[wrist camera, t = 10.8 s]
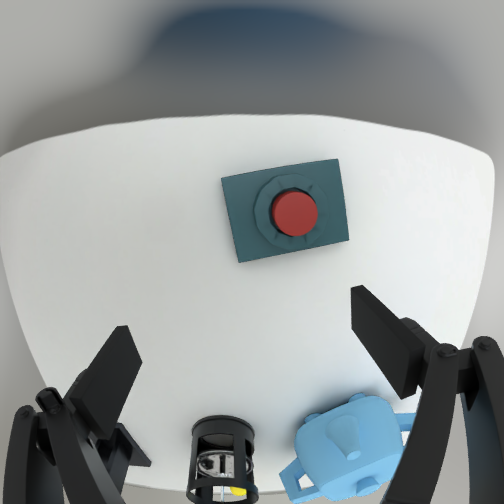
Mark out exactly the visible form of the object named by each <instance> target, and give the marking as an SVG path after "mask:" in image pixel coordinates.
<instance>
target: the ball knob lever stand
mask: <svg viewBox="0 0 504 504" xmlns="http://www.w3.org/2000/svg"><path fill="white" fill-rule="evenodd" d="M89 437H90V438H91V440H92V441H93V443H94V445H95V448H96V450H97V452H98V454H99V456H100V458H101V460H102V462H103V464H104V466H105V468H106V470H107V472H108V474H109V476H110V478H111V479H112V481H113V483H114V485H115V487H116V488H117V490H118V492H119V493H120V495H121V492H122V488H123V484H124V481H125V477H126V474H127V470H128V466H129V465H132V466H144V467H150V466H151V461H150V460H149V459H148V458H147V456H146V455H145V454H144V453H143V451H142V450H141V449H140V448H139V446H138V445H137V444H136V443H135V441H134V440H133V439H132V437H131V436H130V435H129V433H128V432H127V430H126V429H125V428H124V426H123V425H122V423H116V425H115V428H114V430H113V433H112V435H111V438H110V440H106V439H98V438H96V436H95V435H94V434H93V432H92V431H91V432H90V434H89Z"/></svg>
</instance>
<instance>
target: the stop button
mask: <svg viewBox="0 0 504 504" xmlns="http://www.w3.org/2000/svg"><path fill="white" fill-rule="evenodd" d="M272 217H273V220H274V222H275V224H276V225H277V226H278V227H279V229H280V230H281V231H283V232H284V233H286V234H288V235H291V236H301V235H304V234H306V233H308V232H309V231H310V230H311V229H312V228H313V227H314V225H315V223H316V221H317V217H318V211H317V207H316V204H315V202H314V201H313V199H312V198H311V197H309V196H308V195H306V194H304V193H301V192H297V191H288V192H285V193H283V194H281V195H280V196H279V197H278V198H277V199H276V200H275V202H274V204H273V207H272Z"/></svg>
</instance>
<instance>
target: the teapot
mask: <svg viewBox="0 0 504 504" xmlns="http://www.w3.org/2000/svg"><path fill="white" fill-rule="evenodd" d="M415 414H416V413H403V414H394V412H393V409H392V407H391V406H390V404H389V403H388V402H387V401H386V400H384V399H382V398H380V397H377V396H367V397H366V395H365V394H364V393H358V394H355V395H354V396H352V397H351V398H350V399H349V401H348V403H347V404H344V405H341V406H339V407H337V408H334V409H332V410H330V411H328V412H326V413H324V414H320V413H314V414H311V415H309V416H307V417H306V418H305V423H306V424H304V425H303V426H302V427H300V428H299V430H298V432H297V434H296V436H295V439H294V447H295V451H296V454H297V458H296V459H295V460H294V461H293V462H292V463H291V464H290V465H288V466H287V467H286V468H285V469H284V470H283V471H282V472H281V473H279V475H280V478H281V480H282V483H283V485H284V487H285V490H286V492H287V494H288V497H289V499H290V501H291V502H293V503H294V504H299V503H302V502H306V501H309V500H312V499H315V498H318V497H321V496H325V497H326V498H328V499H329V500H331V501H339V500H343V499H347V498H350V497H353V496H355V495H356V496H359V497H360V496H366V495H368V494H371V493H373V492H375V491H376V490H377V489H379V488H380V485H381V484H383V483H385V482H387V481H389V480H390V479H392V477H393V475H394V472H395V470H396V467H397V465H398V463H399V460H400V458H401V455H402V452H403V450H404V447H405V446H403V441H402V435H401V432H402V431H410V430H411V427H412V424H413V421H414V417H415ZM305 473H306V474H307V476H308V477H309V479H310V480H311V481H312V482H313V484H314V486H312V487H309V488H307V489H305V490H301V487H300V484H299V481H298V480H299V479H300V478H301V477H302V476H303V475H304V474H305Z"/></svg>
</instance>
